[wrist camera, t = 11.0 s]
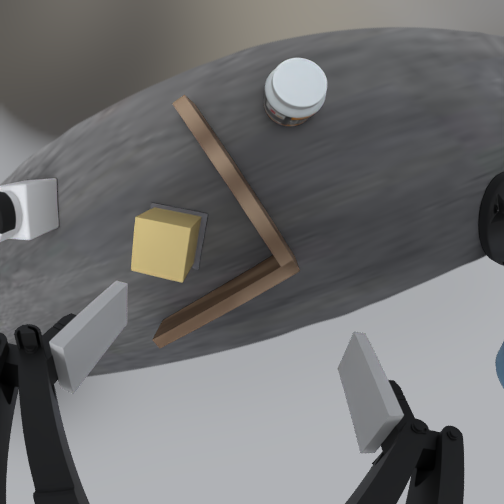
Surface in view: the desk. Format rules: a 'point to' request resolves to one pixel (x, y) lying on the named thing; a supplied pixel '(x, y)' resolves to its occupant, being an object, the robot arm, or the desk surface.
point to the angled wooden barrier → (282, 258)
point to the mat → (201, 229)
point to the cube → (165, 243)
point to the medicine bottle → (28, 209)
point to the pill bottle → (294, 91)
